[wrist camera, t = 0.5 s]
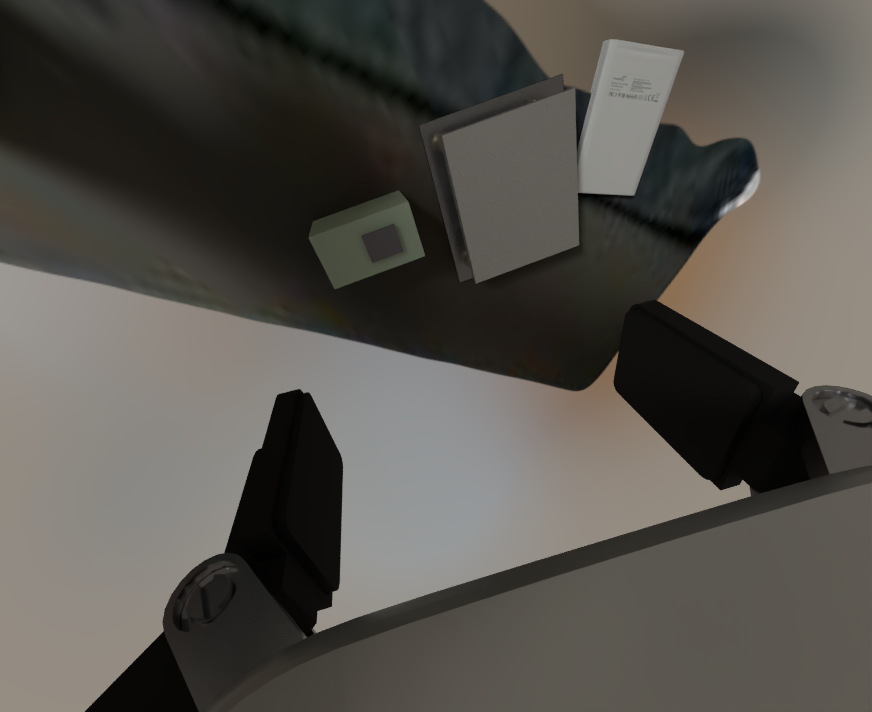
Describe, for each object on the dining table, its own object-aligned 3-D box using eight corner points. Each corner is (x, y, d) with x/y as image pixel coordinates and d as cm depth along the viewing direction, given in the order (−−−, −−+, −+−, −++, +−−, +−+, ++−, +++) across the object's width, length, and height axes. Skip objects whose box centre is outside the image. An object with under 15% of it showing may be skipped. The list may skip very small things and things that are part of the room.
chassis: (459, 281, 41) (469, 294, 38) (418, 125, 31) (427, 125, 28) (568, 240, 41) (587, 250, 38) (560, 74, 32) (585, 68, 29)
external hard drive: (563, 190, 38) (601, 41, 32) (626, 193, 40) (674, 53, 33) (571, 192, 37) (612, 38, 30) (635, 196, 39) (688, 50, 32)
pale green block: (335, 267, 37) (334, 291, 32) (312, 221, 34) (307, 239, 29) (414, 238, 37) (426, 258, 32) (398, 190, 34) (409, 202, 29)
